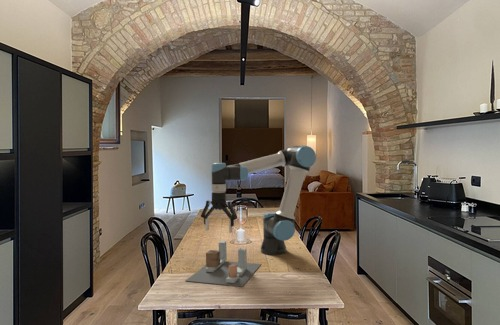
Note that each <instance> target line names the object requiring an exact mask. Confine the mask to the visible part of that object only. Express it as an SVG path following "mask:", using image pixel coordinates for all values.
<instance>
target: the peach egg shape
mask: <svg viewBox="0 0 500 325" xmlns="http://www.w3.org/2000/svg"><path fill="white" fill-rule="evenodd" d="M229 277H231V278H235V277H237V265H236V264H230V265H229Z"/></svg>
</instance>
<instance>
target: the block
mask: <svg viewBox="0 0 500 325" xmlns="http://www.w3.org/2000/svg"><path fill="white" fill-rule="evenodd" d="M205 265H206V267H218V266H219V265H220V251H219V249H218V250H215V249H210V250H208V251H206V252H205Z"/></svg>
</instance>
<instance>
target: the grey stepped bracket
mask: <svg viewBox="0 0 500 325" xmlns="http://www.w3.org/2000/svg"><path fill="white" fill-rule="evenodd" d="M218 251H220V265H219V266H218V267H207V268H206V272H214V271H215V270H216V269H217V268H219V267H220V266H221V265H222V264H223V263H224V262H225V261H227V259H228V258H227V256H228V255H227V241H226V240H220V241H219V242H218Z"/></svg>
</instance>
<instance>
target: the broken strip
mask: <svg viewBox="0 0 500 325" xmlns="http://www.w3.org/2000/svg"><path fill="white" fill-rule="evenodd" d="M237 258H238V260H237V262H238V267H237V277H235V278H231V277H229V276H228V277H227V278H226V282H227V283H235V282H236V281H237V280H238V279H239V276H241V275H242V274H243V273H244V272H245V270H246V269H247V263H248V260H247V248H245V247H242V248H241V247H240V248H239V249H238V250H237Z"/></svg>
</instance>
